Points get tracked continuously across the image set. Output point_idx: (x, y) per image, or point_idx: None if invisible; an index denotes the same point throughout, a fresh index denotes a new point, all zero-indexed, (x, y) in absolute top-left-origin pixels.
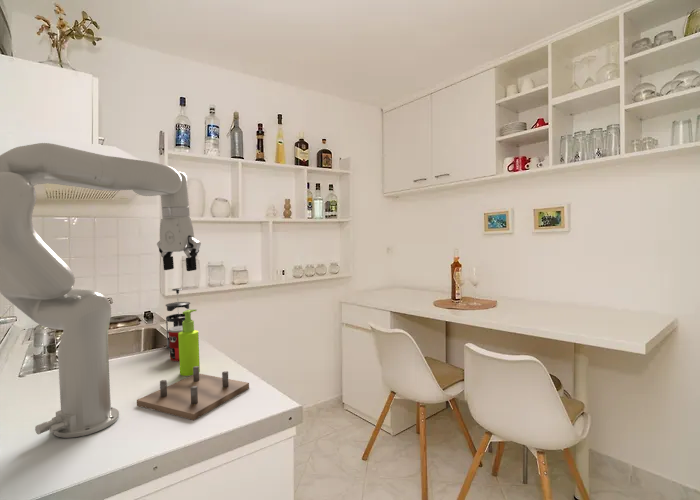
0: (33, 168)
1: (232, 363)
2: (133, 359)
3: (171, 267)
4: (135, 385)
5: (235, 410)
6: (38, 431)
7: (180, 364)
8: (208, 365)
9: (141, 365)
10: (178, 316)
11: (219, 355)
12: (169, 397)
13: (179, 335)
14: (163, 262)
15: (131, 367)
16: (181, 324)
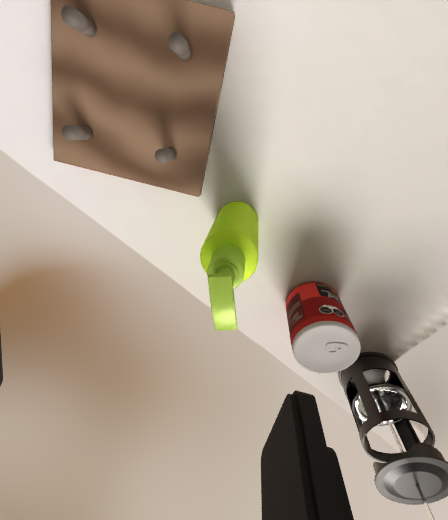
0: None
1: (177, 281)
2: (434, 284)
3: (268, 451)
4: (319, 130)
5: (13, 44)
6: None
7: (246, 209)
8: None
9: (386, 250)
10: (396, 440)
11: None
12: (165, 44)
13: (242, 233)
14: (328, 472)
15: (405, 235)
16: (369, 406)
